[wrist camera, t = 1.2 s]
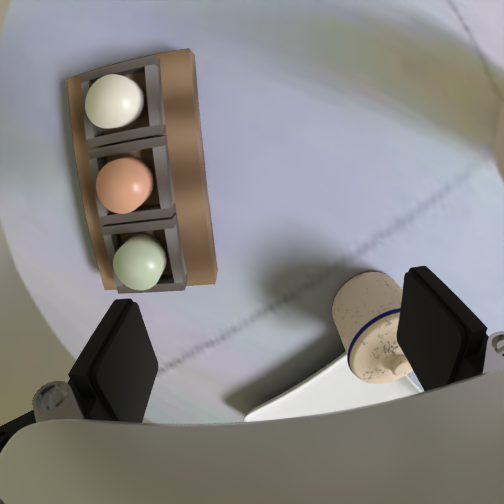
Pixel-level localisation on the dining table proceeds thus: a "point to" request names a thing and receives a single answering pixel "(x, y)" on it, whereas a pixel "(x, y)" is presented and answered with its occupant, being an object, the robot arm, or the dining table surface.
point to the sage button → (140, 262)
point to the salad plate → (331, 393)
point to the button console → (161, 163)
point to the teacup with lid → (371, 327)
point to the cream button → (114, 101)
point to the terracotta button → (124, 184)
